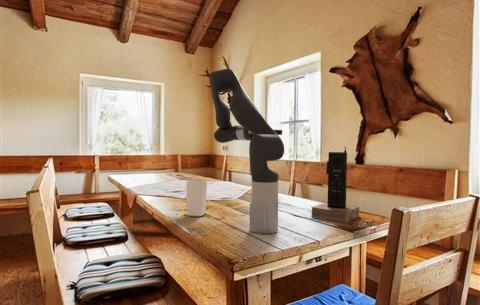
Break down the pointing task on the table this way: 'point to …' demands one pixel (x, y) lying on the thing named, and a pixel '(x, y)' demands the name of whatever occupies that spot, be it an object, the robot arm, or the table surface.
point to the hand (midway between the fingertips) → (276, 132)
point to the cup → (196, 196)
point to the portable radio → (337, 179)
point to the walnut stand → (335, 213)
